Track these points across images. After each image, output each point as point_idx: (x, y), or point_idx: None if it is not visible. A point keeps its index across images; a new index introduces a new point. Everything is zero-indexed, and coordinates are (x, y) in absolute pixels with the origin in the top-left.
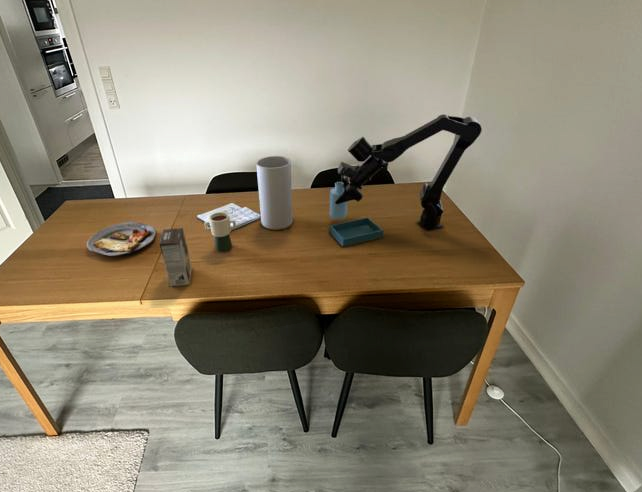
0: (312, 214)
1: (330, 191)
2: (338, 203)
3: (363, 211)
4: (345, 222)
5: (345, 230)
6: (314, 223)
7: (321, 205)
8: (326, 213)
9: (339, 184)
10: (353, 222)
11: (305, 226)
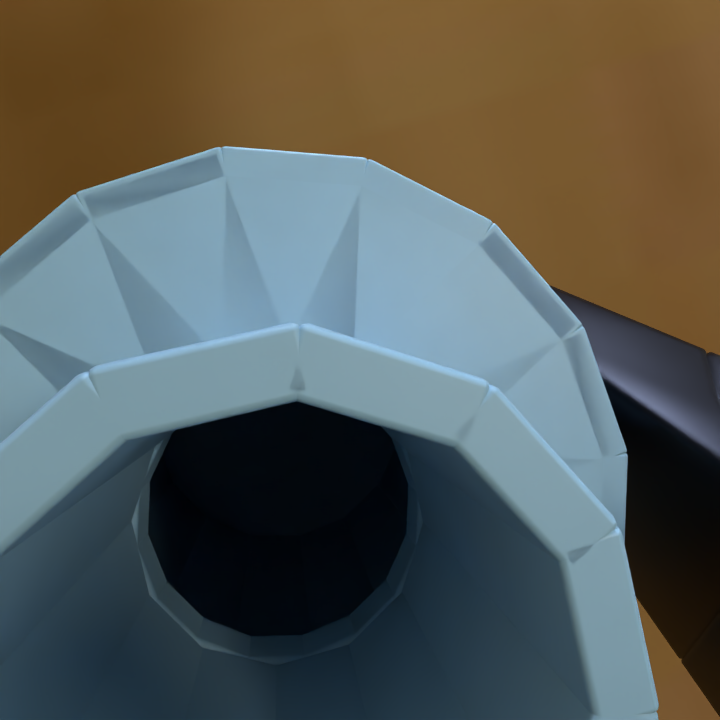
0: (383, 23)
1: (140, 172)
2: None
3: (650, 623)
4: None
5: None
6: (148, 119)
7: (655, 72)
8: (465, 196)
9: (501, 568)
10: None
11: (25, 23)
